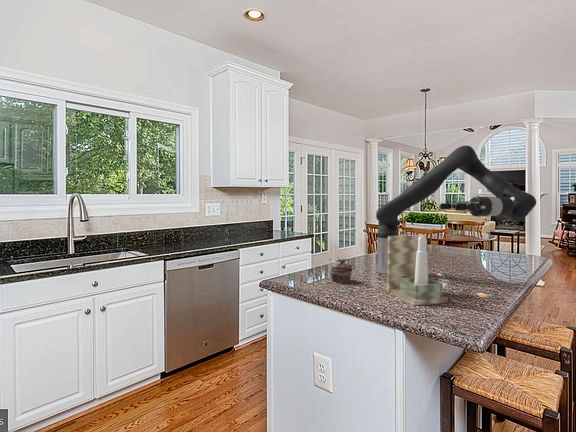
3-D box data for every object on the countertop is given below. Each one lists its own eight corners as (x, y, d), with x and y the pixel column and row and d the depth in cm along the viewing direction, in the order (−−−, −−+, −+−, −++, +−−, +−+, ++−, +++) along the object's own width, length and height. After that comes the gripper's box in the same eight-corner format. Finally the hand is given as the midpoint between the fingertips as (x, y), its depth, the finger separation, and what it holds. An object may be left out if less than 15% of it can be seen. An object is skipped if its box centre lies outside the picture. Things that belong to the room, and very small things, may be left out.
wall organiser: (413, 305, 124) (414, 242, 123) (387, 291, 142) (387, 236, 140) (453, 302, 127) (454, 240, 126) (423, 289, 145) (424, 234, 144)
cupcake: (346, 277, 165) (346, 256, 165) (355, 282, 156) (355, 260, 155) (326, 279, 163) (326, 257, 162) (334, 284, 154) (334, 261, 153)
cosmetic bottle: (419, 291, 136) (420, 233, 134) (433, 295, 131) (434, 235, 129) (408, 293, 132) (409, 234, 131) (422, 297, 127) (424, 236, 126)
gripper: (472, 196, 142) (436, 196, 139) (500, 196, 129) (461, 196, 125) (471, 215, 143) (435, 215, 139) (500, 217, 129) (460, 218, 125)
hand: (447, 206), depth 132 cm, fingers open, 8 cm apart
